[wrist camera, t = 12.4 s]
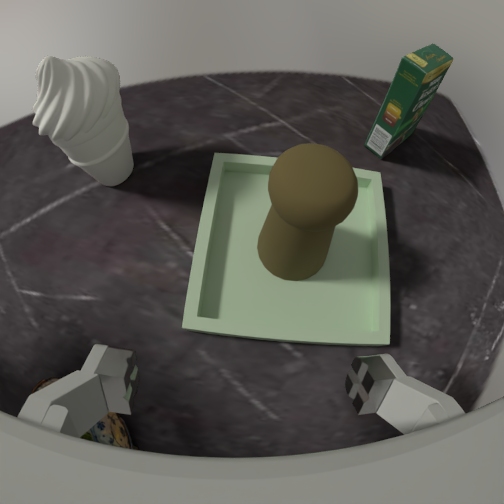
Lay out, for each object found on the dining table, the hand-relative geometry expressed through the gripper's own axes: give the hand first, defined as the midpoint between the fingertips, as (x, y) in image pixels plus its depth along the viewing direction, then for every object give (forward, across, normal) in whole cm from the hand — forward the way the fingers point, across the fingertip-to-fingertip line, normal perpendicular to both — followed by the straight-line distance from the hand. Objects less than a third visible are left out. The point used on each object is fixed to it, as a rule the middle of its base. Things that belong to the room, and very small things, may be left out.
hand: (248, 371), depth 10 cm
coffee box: (+23, -18, -12) cm, 32 cm away
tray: (+16, -6, 0) cm, 17 cm away
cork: (+15, -5, 0) cm, 16 cm away
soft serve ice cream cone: (+24, +13, -5) cm, 27 cm away
